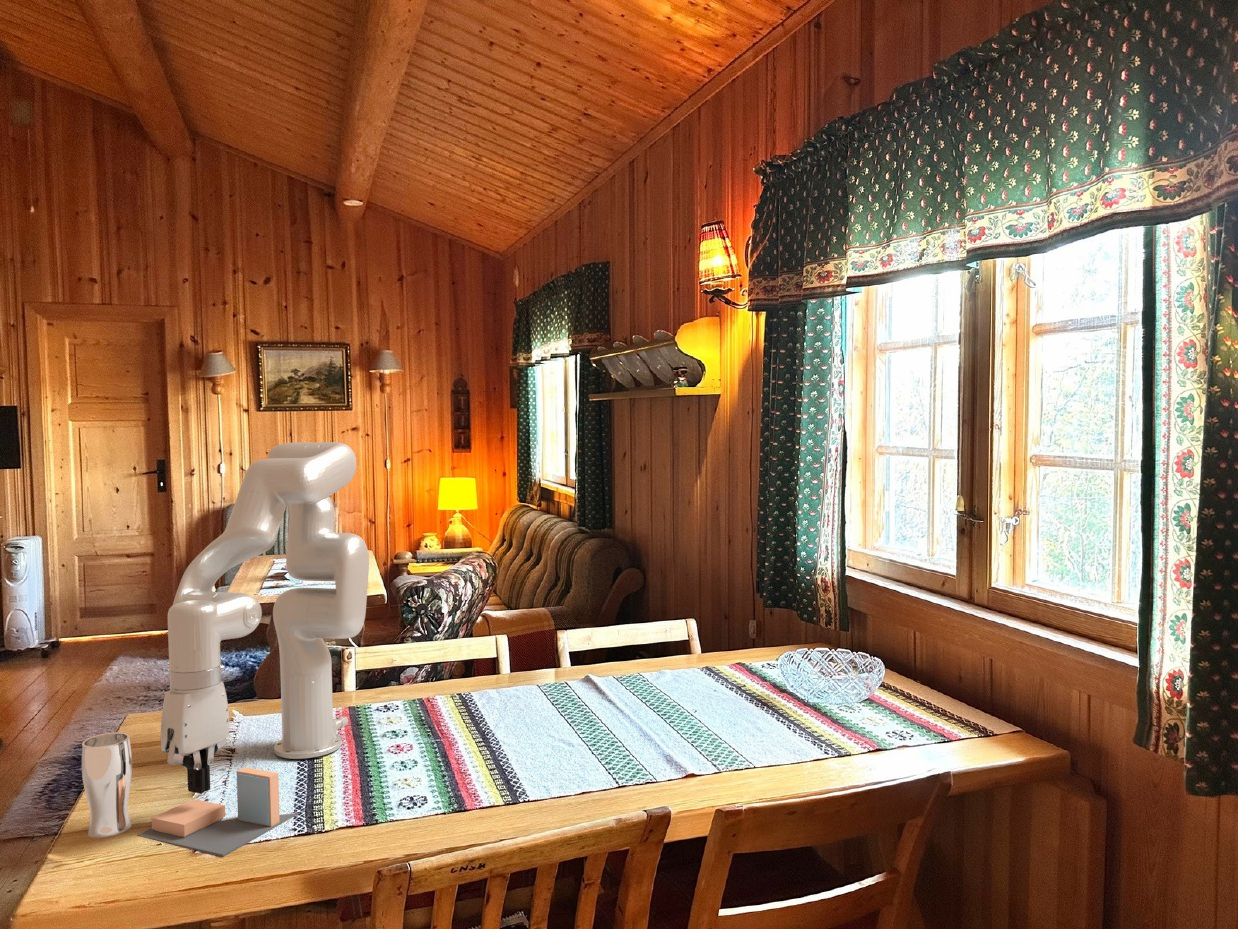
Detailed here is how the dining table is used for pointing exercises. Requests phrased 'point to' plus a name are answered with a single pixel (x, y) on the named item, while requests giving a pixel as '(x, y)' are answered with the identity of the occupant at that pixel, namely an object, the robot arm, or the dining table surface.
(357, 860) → the dining table surface
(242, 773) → the peach flat block
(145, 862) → the dining table surface
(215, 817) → the terracotta tile
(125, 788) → the beer glass
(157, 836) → the rubber mat
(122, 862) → the dining table surface
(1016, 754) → the dining table surface
